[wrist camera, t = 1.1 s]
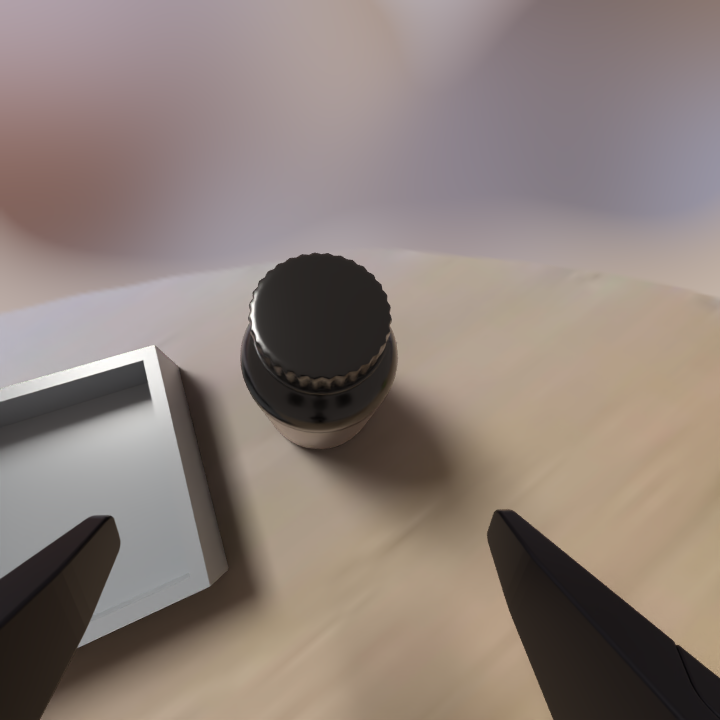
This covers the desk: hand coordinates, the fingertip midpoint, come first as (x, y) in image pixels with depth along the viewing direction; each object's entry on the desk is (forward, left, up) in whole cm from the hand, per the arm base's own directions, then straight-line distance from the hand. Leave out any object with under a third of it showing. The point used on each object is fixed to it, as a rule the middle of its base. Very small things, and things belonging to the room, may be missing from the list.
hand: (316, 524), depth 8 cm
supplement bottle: (+6, -2, -13) cm, 14 cm away
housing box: (+5, +12, -13) cm, 18 cm away
